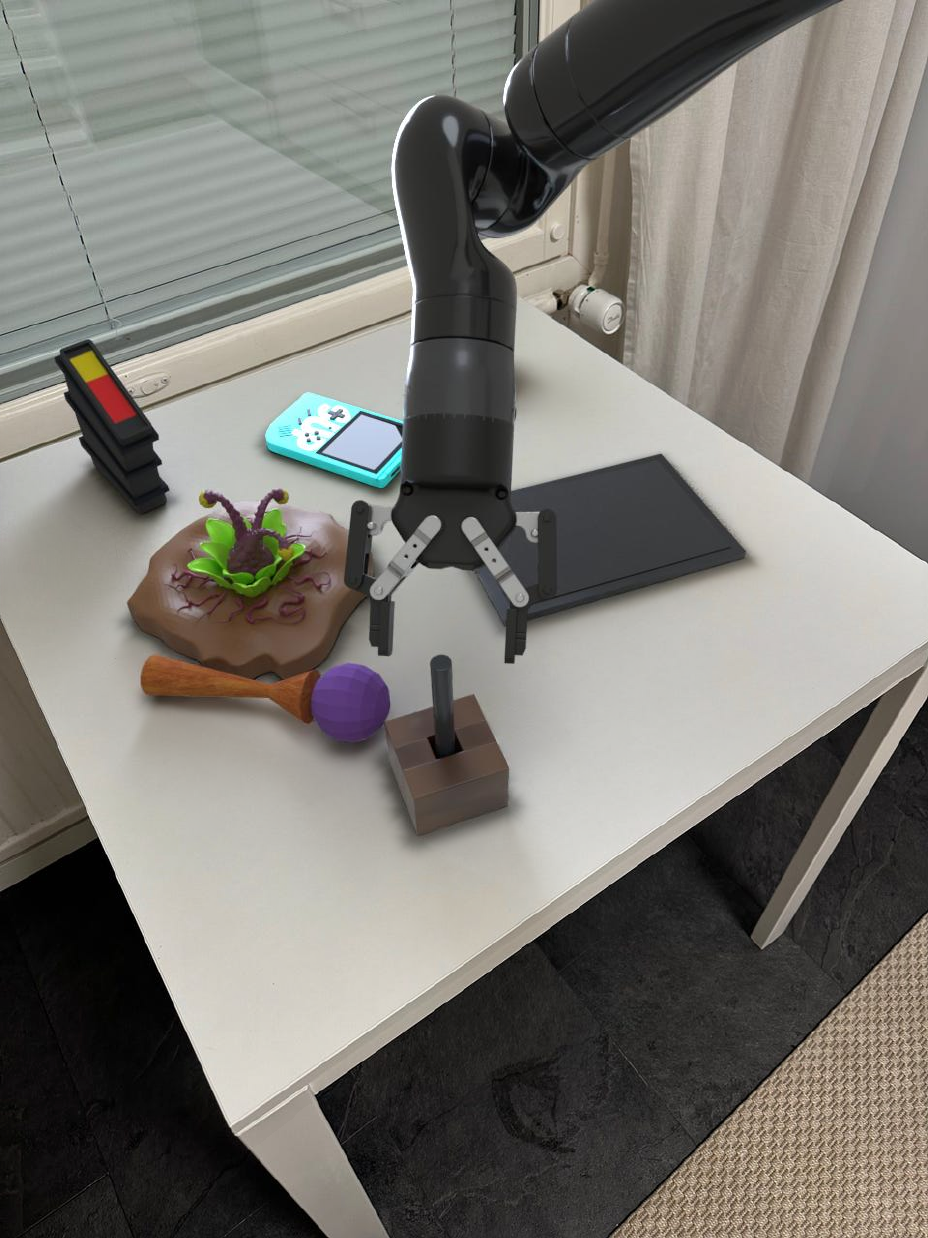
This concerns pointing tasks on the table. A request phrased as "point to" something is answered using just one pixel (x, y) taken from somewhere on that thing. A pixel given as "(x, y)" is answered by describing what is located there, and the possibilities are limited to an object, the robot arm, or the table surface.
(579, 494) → the tablet
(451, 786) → the pen stand
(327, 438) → the handheld game console
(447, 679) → the stylus
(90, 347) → the magazine
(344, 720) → the kendama
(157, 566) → the plant
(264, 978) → the table surface
